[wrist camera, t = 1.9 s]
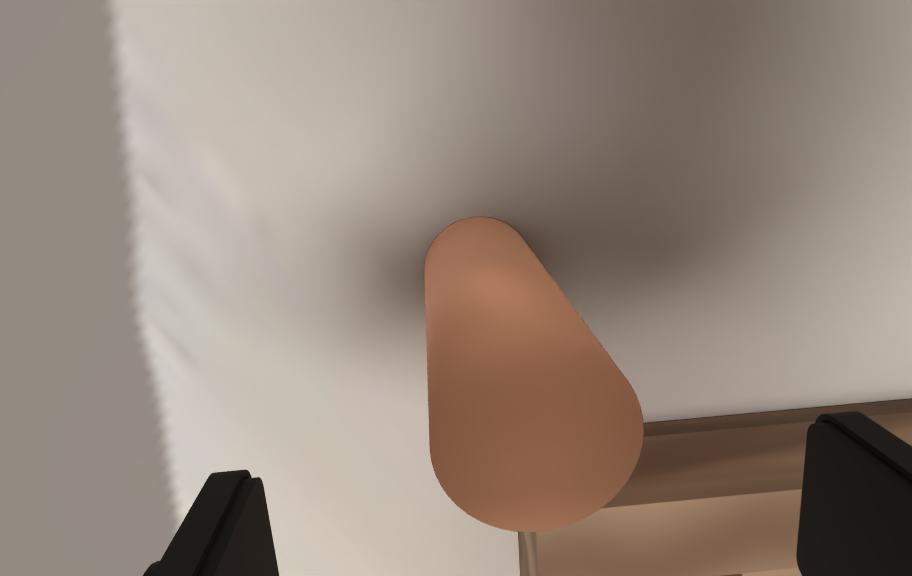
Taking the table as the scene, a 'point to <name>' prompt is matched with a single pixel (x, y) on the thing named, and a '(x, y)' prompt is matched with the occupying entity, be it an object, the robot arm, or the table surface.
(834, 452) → the robot arm
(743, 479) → the socket block
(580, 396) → the pin
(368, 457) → the table surface
